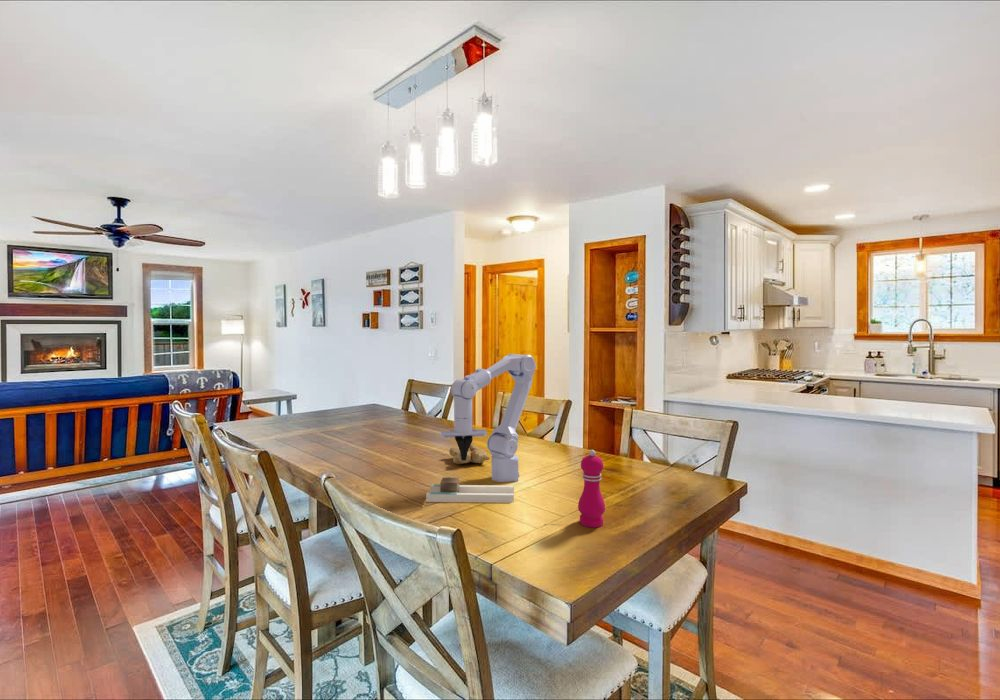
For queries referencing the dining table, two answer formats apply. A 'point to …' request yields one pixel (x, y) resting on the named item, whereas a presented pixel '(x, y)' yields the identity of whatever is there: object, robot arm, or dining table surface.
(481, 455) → the ginger root
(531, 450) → the dining table surface
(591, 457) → the pepper mill
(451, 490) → the walnut block
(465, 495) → the chute
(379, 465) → the dining table surface
